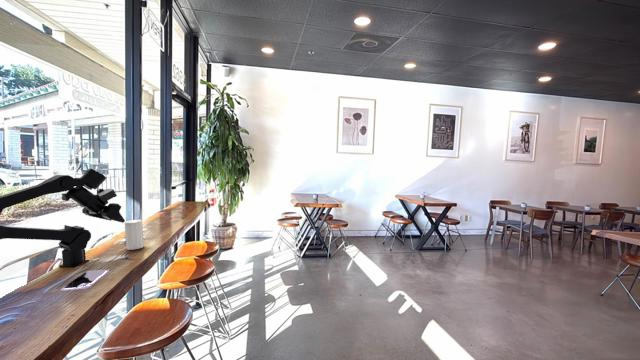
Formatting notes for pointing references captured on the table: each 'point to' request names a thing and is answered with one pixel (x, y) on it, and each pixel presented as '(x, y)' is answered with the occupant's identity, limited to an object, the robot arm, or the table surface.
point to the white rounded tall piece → (134, 234)
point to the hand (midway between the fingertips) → (117, 220)
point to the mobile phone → (85, 280)
